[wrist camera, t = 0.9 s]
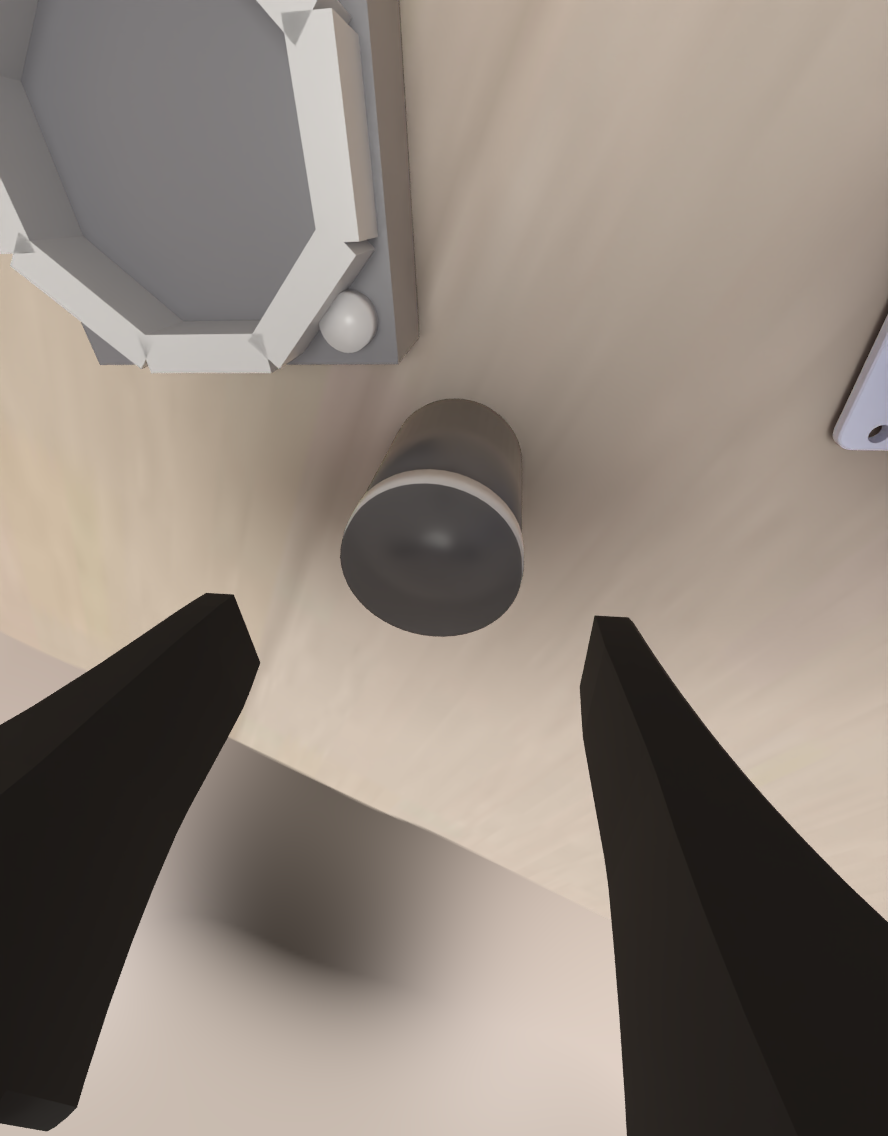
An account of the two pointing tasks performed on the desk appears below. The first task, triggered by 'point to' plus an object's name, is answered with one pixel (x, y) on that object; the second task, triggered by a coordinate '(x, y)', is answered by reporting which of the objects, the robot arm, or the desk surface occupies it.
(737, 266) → the desk surface
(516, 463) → the lens
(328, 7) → the mount
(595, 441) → the desk surface
